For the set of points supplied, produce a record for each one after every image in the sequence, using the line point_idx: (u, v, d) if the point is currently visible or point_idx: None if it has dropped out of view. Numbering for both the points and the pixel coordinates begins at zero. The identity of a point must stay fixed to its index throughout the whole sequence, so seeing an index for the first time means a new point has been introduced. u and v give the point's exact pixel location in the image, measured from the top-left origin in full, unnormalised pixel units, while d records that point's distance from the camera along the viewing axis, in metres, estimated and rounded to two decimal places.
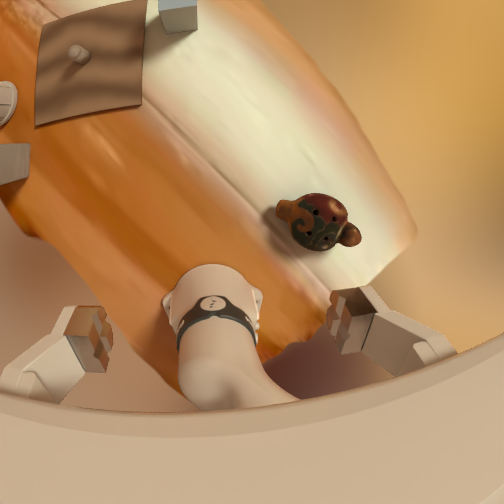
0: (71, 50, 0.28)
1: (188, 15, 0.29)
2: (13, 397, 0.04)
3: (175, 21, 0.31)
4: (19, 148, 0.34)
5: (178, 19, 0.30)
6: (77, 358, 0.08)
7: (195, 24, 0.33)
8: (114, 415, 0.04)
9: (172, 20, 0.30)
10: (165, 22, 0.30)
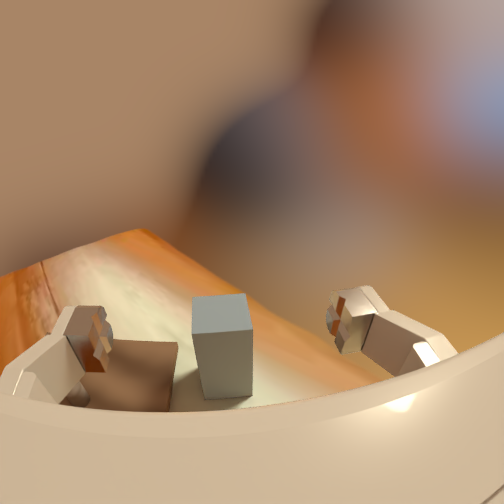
0: None
1: (238, 357, 0.25)
2: (13, 398, 0.04)
3: (218, 370, 0.25)
4: None
5: (222, 365, 0.25)
6: (77, 358, 0.08)
7: (249, 382, 0.27)
8: (114, 415, 0.04)
9: (213, 366, 0.25)
10: (202, 369, 0.25)
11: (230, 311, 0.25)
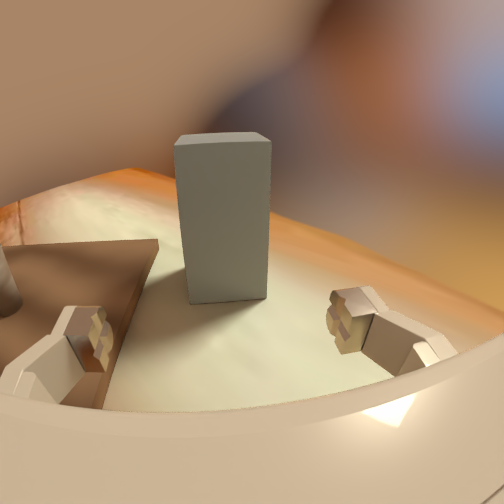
0: None
1: (247, 201, 0.16)
2: (13, 397, 0.04)
3: (213, 231, 0.16)
4: None
5: (220, 221, 0.16)
6: (77, 358, 0.08)
7: (262, 265, 0.18)
8: (114, 415, 0.04)
9: (205, 223, 0.16)
10: (187, 229, 0.16)
11: (234, 136, 0.16)
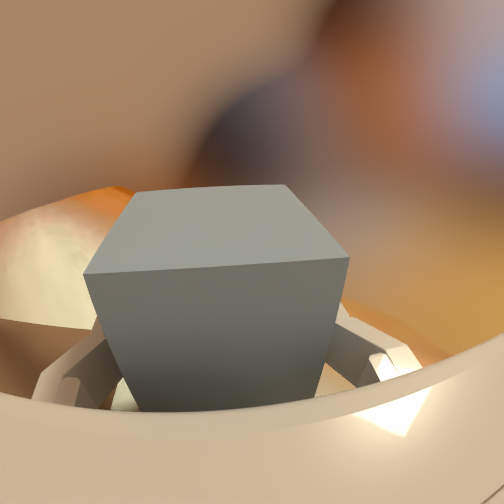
0: None
1: (275, 376, 0.07)
2: (12, 397, 0.04)
3: None
4: None
5: (219, 404, 0.07)
6: None
7: None
8: (115, 416, 0.04)
9: (187, 407, 0.07)
10: None
11: (245, 212, 0.07)
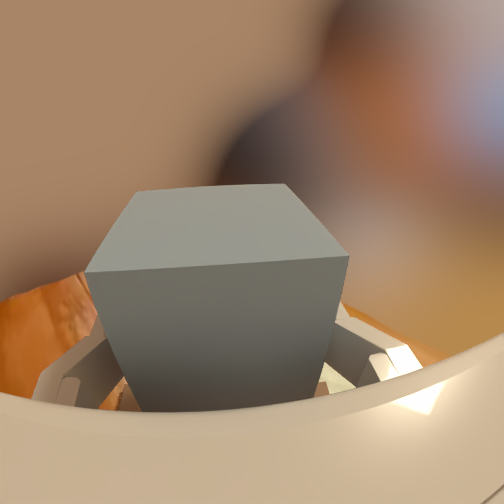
0: None
1: (275, 375, 0.07)
2: (13, 398, 0.04)
3: None
4: None
5: (219, 402, 0.07)
6: None
7: None
8: (114, 415, 0.04)
9: (188, 405, 0.07)
10: (155, 411, 0.07)
11: (246, 211, 0.07)
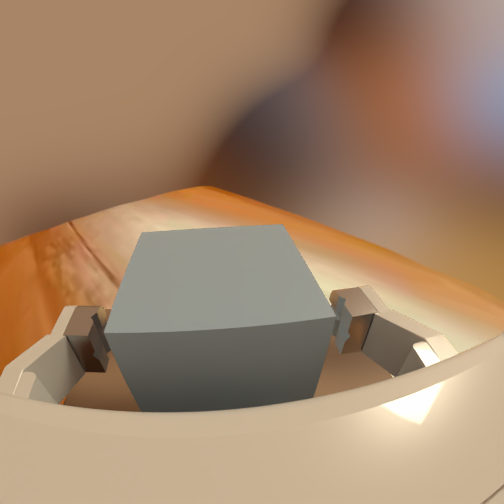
0: None
1: None
2: (12, 397, 0.04)
3: None
4: None
5: None
6: (77, 358, 0.08)
7: None
8: (114, 415, 0.04)
9: None
10: None
11: (245, 263, 0.08)
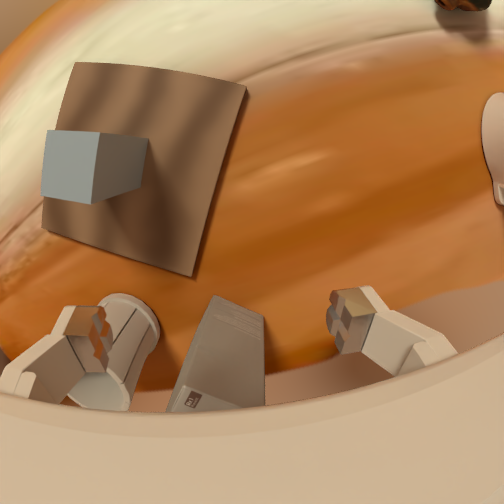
0: None
1: (117, 150, 0.20)
2: (13, 397, 0.04)
3: (122, 172, 0.22)
4: (215, 313, 0.28)
5: (120, 168, 0.21)
6: (77, 358, 0.08)
7: (138, 140, 0.23)
8: (114, 416, 0.04)
9: (119, 178, 0.22)
10: (118, 190, 0.22)
11: (68, 153, 0.17)
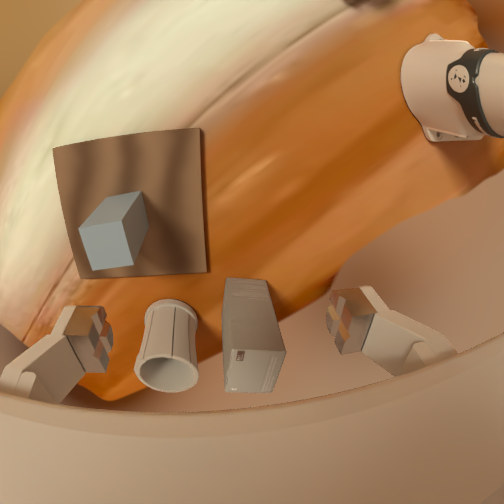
0: None
1: (131, 219, 0.29)
2: (12, 397, 0.04)
3: (138, 229, 0.32)
4: (232, 292, 0.40)
5: (136, 227, 0.31)
6: (77, 358, 0.08)
7: (137, 199, 0.33)
8: (114, 415, 0.04)
9: (138, 234, 0.32)
10: (141, 241, 0.32)
11: (103, 239, 0.27)
